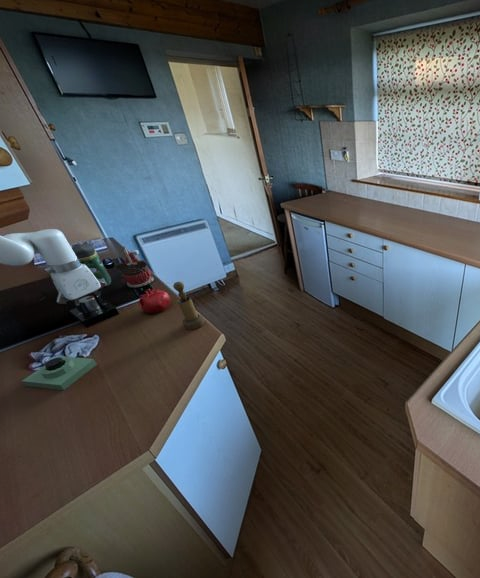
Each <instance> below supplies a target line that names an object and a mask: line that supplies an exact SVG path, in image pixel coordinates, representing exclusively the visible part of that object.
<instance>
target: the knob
mask: <svg viewBox="0 0 480 578" xmlns="http://www.w3.org/2000/svg"><path fill="white" fill-rule="evenodd" d="M79 302H80V303H81V304H83V306H84V307H85V309H86V310H87V312H93V311H96V310H98V309H99V308H100V305H99V304H98V302H97V300H96V299H95V297H94V296H93V295H88V296H87V295H86V296H83V297H81V298H79Z"/></svg>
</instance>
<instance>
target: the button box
mask: <svg viewBox="0 0 480 578" xmlns="http://www.w3.org/2000/svg"><path fill="white" fill-rule="evenodd" d="M55 358H62V359H63V361H64V362H65V364H64V365H63V366H61V367H60V368H58V369H55V370H51V371H49V370H48V369H47V368H46V367H45V366H44V365H42V366H41V367H40V368H39V369H37V370H35V371H34V372H32V373H31V374H29V375H28V376H27V377H25V378H24V379H23V380H21V382H22V384H24V385H25V387H31V388H38V389H39V388H42V389H50V390H58V391H65V390H67V389H68V388H69V387H71V386H72V385H73V384H74V383H75V382H77V381H78V380H79V379H80V378H82V377H83V376H85V375H86V374H87V373H89V371H90V370H92V369H93V368H95V367H96V366H97V365H98V362H97V361H96V360H95V359H94V358H87V357H86V358H85V357H75V356H67V355H65V356H64V355H58V356H56V357H55Z"/></svg>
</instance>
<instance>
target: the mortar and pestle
mask: <svg viewBox="0 0 480 578" xmlns="http://www.w3.org/2000/svg"><path fill="white" fill-rule="evenodd" d="M184 289H185V284H184V282H182V281H176V282H174V283H173V290H175V291H177V292H178V294H177V296H178V297H179V298H178V300H177V303H178V305H179V308H180V310H181V312H182V314H183V317H184V318H183V320H182V325H183V328H184V329H186V330H188V331H193V330H196V329H199V328H201V327H202V326H204V324H205V319H204V316H203V315H202V314H200V315H199V313H198V312H197V310H196V307H195V304H194V303H193V299H192V298H191V296H187V293H186V291H184Z"/></svg>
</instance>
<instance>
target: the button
mask: <svg viewBox="0 0 480 578" xmlns="http://www.w3.org/2000/svg"><path fill="white" fill-rule="evenodd" d="M64 364H65V362H64V361H63V359H62V358H56V357H54V358H51V359H49V360H48V361H46V362H45V363H44V365H43V366H45V367H46V368H47V369H48V370H49V371H51V370H55V369H58V368H60V367H61V366H63V365H64Z"/></svg>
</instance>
